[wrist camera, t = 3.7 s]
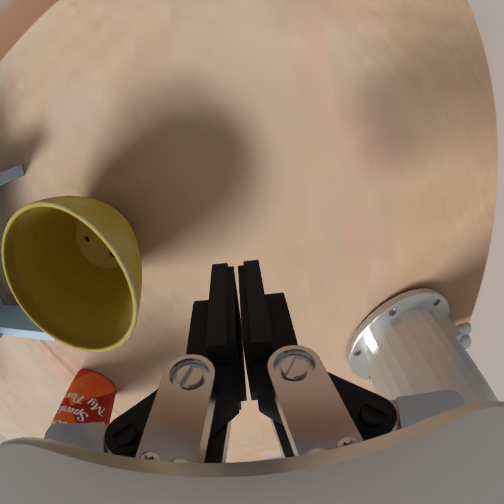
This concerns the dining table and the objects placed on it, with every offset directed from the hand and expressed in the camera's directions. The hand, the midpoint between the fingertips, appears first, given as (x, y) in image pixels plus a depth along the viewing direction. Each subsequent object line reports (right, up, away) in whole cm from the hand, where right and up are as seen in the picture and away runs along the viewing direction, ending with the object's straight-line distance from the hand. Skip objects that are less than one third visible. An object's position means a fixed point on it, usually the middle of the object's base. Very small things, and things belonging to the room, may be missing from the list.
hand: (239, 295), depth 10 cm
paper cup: (-19, -15, +17) cm, 30 cm away
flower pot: (-11, +3, +9) cm, 14 cm away
